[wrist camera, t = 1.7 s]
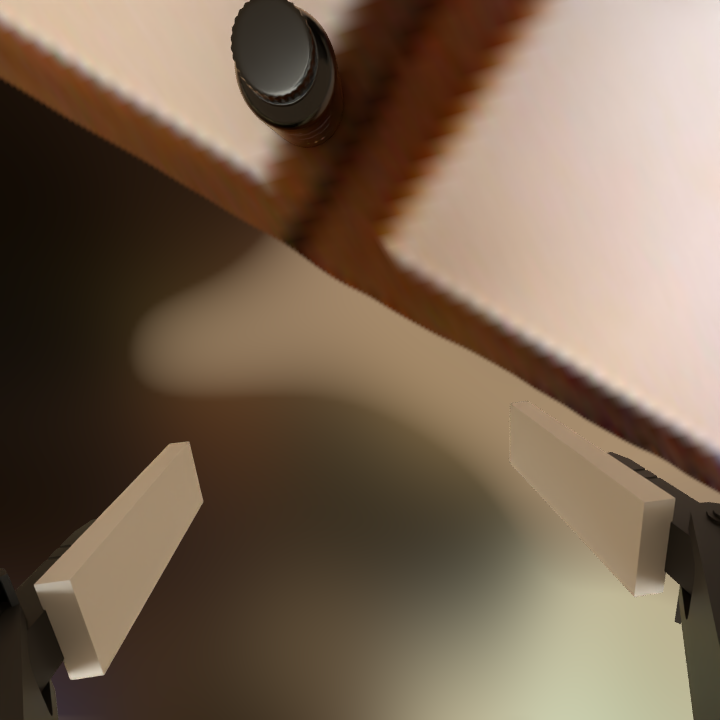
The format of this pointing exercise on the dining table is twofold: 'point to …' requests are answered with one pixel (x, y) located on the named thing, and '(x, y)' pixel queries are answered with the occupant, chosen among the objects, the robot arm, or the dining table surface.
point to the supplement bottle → (287, 71)
